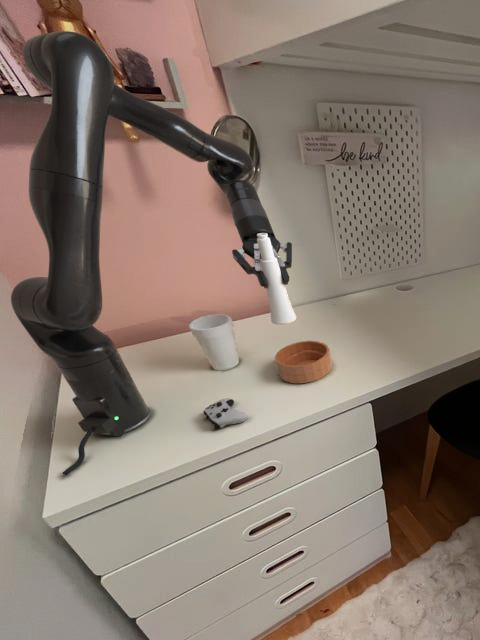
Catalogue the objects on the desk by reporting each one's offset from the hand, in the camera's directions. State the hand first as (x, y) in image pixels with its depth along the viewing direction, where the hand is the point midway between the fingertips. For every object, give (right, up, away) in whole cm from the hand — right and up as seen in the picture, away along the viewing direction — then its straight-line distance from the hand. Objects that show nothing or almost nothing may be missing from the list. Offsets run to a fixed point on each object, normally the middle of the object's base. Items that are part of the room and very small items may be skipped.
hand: (276, 284), depth 97 cm
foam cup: (-20, -20, +13) cm, 31 cm away
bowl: (+2, -21, +11) cm, 24 cm away
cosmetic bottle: (-1, -8, +7) cm, 11 cm away
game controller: (-8, -32, -6) cm, 33 cm away
